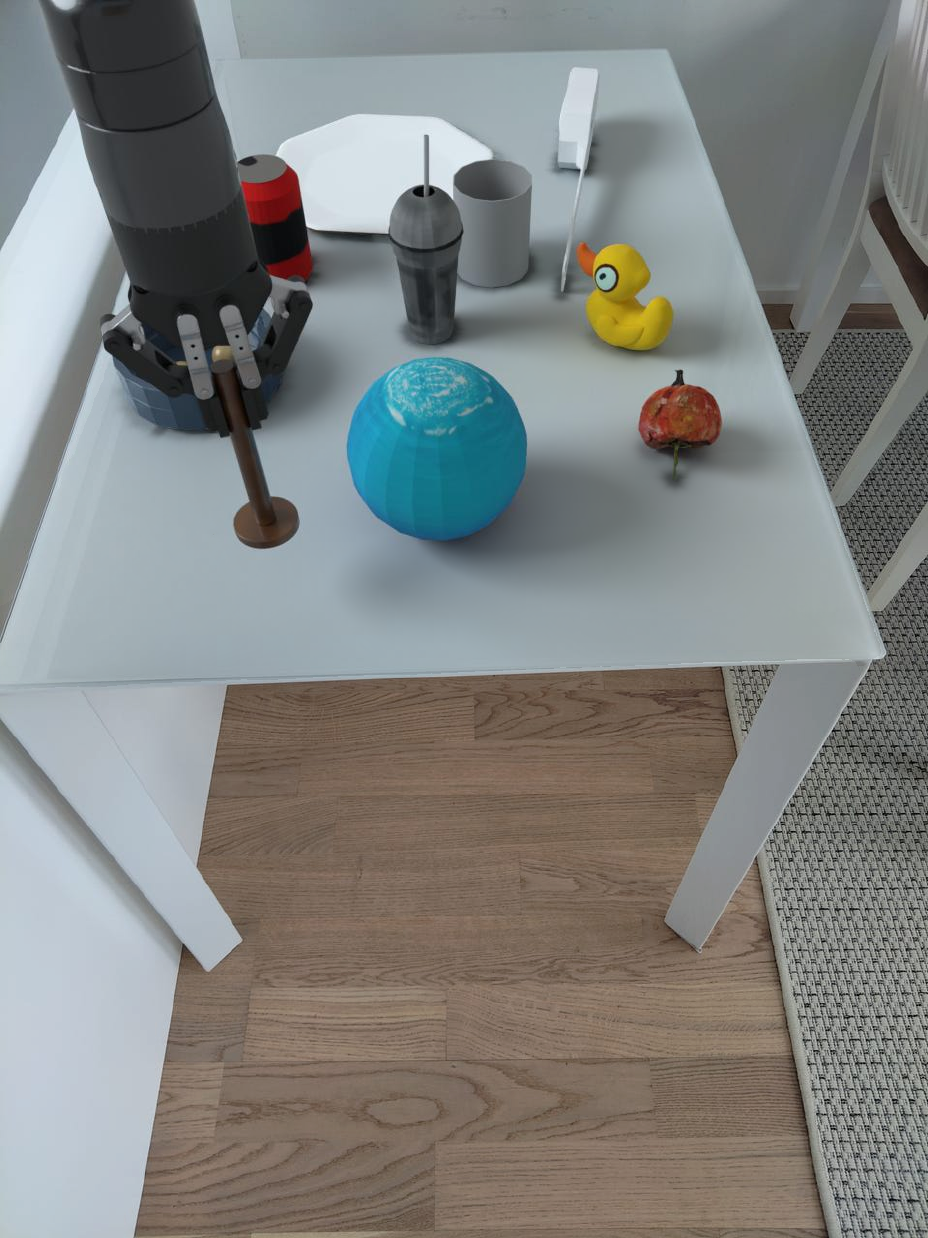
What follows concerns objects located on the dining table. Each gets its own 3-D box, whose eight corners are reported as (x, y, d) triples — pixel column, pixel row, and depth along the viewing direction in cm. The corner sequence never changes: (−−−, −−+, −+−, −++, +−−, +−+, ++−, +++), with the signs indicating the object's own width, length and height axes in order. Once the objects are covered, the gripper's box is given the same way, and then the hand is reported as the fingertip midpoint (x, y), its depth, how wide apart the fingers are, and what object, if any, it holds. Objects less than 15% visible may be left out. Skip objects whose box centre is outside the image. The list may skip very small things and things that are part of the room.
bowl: (138, 450, 88) (121, 408, 84) (120, 351, 96) (103, 309, 92) (298, 412, 90) (289, 370, 86) (266, 320, 99) (257, 277, 95)
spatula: (525, 308, 104) (561, 311, 103) (527, 246, 97) (566, 249, 96) (565, 115, 123) (595, 118, 122) (569, 52, 116) (601, 54, 115)
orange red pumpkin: (712, 489, 86) (729, 383, 86) (712, 477, 79) (730, 362, 79) (633, 480, 88) (649, 377, 88) (626, 468, 81) (643, 356, 81)
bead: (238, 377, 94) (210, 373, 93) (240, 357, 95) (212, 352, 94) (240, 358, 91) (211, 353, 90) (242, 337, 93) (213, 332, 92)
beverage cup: (386, 343, 97) (366, 154, 80) (414, 303, 100) (400, 115, 84) (450, 359, 95) (442, 169, 79) (476, 318, 99) (474, 129, 83)
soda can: (285, 245, 107) (266, 141, 98) (327, 271, 104) (311, 167, 95) (233, 272, 104) (207, 168, 95) (273, 300, 101) (251, 196, 91)
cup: (439, 268, 104) (436, 182, 96) (485, 236, 108) (486, 151, 100) (497, 296, 101) (499, 210, 93) (543, 262, 105) (548, 176, 96)
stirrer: (234, 553, 70) (181, 393, 58) (235, 507, 73) (185, 347, 61) (300, 544, 70) (260, 384, 59) (298, 499, 73) (260, 339, 62)
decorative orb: (356, 458, 87) (336, 323, 74) (515, 448, 87) (520, 312, 75) (357, 582, 78) (334, 453, 66) (533, 571, 78) (543, 440, 66)
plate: (245, 236, 109) (242, 224, 107) (297, 121, 125) (295, 110, 123) (477, 248, 106) (477, 236, 105) (499, 130, 122) (500, 118, 121)
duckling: (557, 330, 97) (563, 243, 89) (586, 305, 100) (595, 219, 92) (648, 373, 93) (664, 286, 85) (676, 346, 95) (694, 259, 87)
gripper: (45, 246, 47) (147, 486, 61) (308, 195, 49) (348, 437, 63) (36, 173, 51) (133, 414, 65) (279, 129, 53) (322, 370, 67)
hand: (239, 424), depth 64 cm, fingers closed on stirrer
